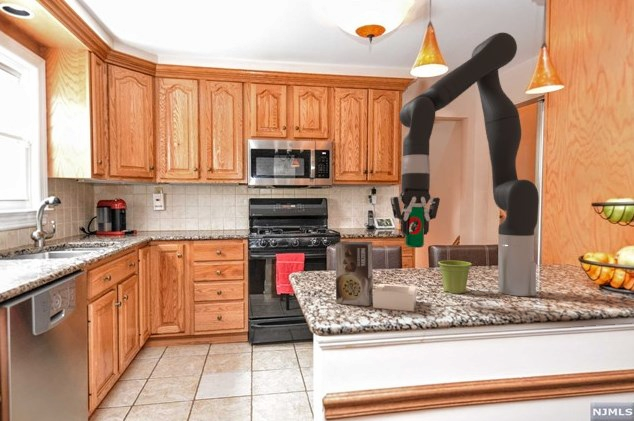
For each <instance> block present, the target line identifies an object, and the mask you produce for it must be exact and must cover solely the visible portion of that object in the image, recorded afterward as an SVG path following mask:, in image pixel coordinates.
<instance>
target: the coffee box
mask: <svg viewBox="0 0 634 421" xmlns="http://www.w3.org/2000/svg"><path fill="white" fill-rule="evenodd" d="M334 245H335V246H334V249H335V304H341V305H351V306H352V305H353V306H354V305H355V306H365V307H366V306H367V307H368V306H370V305H371V304H372V303H373V291H374V288H373V287H374V285H373V284H374V280H373V279H374V278H373V277H374V276H373V274H374V273H373V271H374V270H373V241H356V240H355V241H352V240H350V241H345V240H342V241H339V242H337V243H335V244H334Z"/></svg>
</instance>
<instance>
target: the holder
mask: <svg viewBox="0 0 634 421" xmlns="http://www.w3.org/2000/svg"><path fill="white" fill-rule="evenodd" d="M417 288H418V287H417V286H415V285H402V284H401V285H400V284H388V283H379V284H378V285H377V286H376V287H375V289H373V301H372V308H374V309H376V308H377V309H385V310H395V311H406V312H407V311H408V312H414V311H415V309H416V308H415V307H416V304H417V294H418V292H417Z"/></svg>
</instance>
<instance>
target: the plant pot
mask: <svg viewBox="0 0 634 421" xmlns="http://www.w3.org/2000/svg"><path fill="white" fill-rule="evenodd" d="M437 264H438V265H439V269H440V272H441V278H442V287H443V291H444V292H449V293H450V294H456V295H457V294H461V293H463V294H464V293H466V291H467V284H468V277H469V276H468V275H469V271H470V269H471V266H472V263H471V262H470V261H469V262H468V261H463V260H462V261H461V260H440V261H438V262H437Z"/></svg>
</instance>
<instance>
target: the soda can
mask: <svg viewBox="0 0 634 421" xmlns="http://www.w3.org/2000/svg"><path fill="white" fill-rule="evenodd" d="M407 208H408V207H406V209H407ZM424 218H425V213H424V206H423V205H422V203H414V205H413V206H412V211H411V213H410V214H409V217H408V219H407V221H408V235H404V242H405V243H404V244H405V246H406V247H408V248H423V247H424V245H425V235H424Z"/></svg>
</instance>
